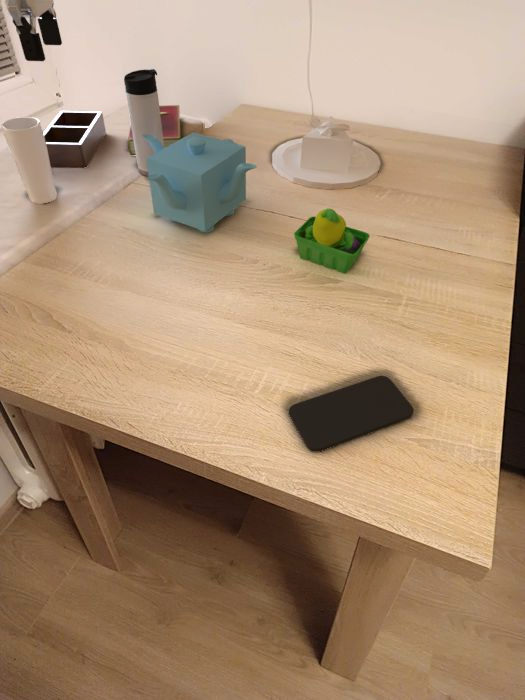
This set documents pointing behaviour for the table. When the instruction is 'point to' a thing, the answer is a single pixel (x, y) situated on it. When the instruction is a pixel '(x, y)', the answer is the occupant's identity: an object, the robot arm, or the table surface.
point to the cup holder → (74, 138)
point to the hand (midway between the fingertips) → (44, 52)
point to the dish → (326, 158)
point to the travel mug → (143, 113)
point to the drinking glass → (30, 157)
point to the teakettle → (197, 179)
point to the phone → (349, 412)
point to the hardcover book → (164, 127)
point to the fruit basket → (330, 241)
